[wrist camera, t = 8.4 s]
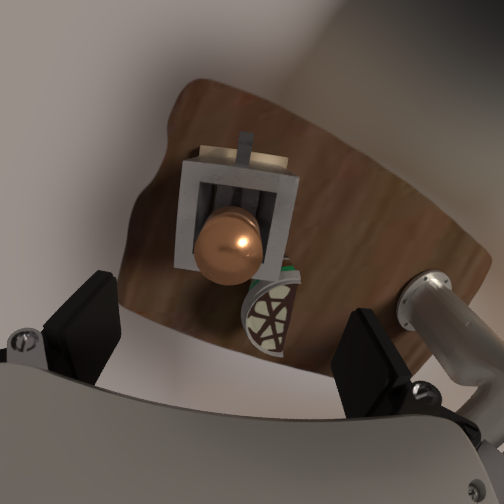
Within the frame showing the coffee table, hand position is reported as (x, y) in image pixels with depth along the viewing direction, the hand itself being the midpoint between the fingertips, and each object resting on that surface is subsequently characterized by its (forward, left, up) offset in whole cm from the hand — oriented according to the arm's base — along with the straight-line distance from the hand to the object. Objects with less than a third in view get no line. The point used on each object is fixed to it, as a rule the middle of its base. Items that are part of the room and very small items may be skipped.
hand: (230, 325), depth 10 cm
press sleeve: (0, -2, -27) cm, 27 cm away
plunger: (0, 0, -26) cm, 26 cm away
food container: (-5, +13, -29) cm, 32 cm away
